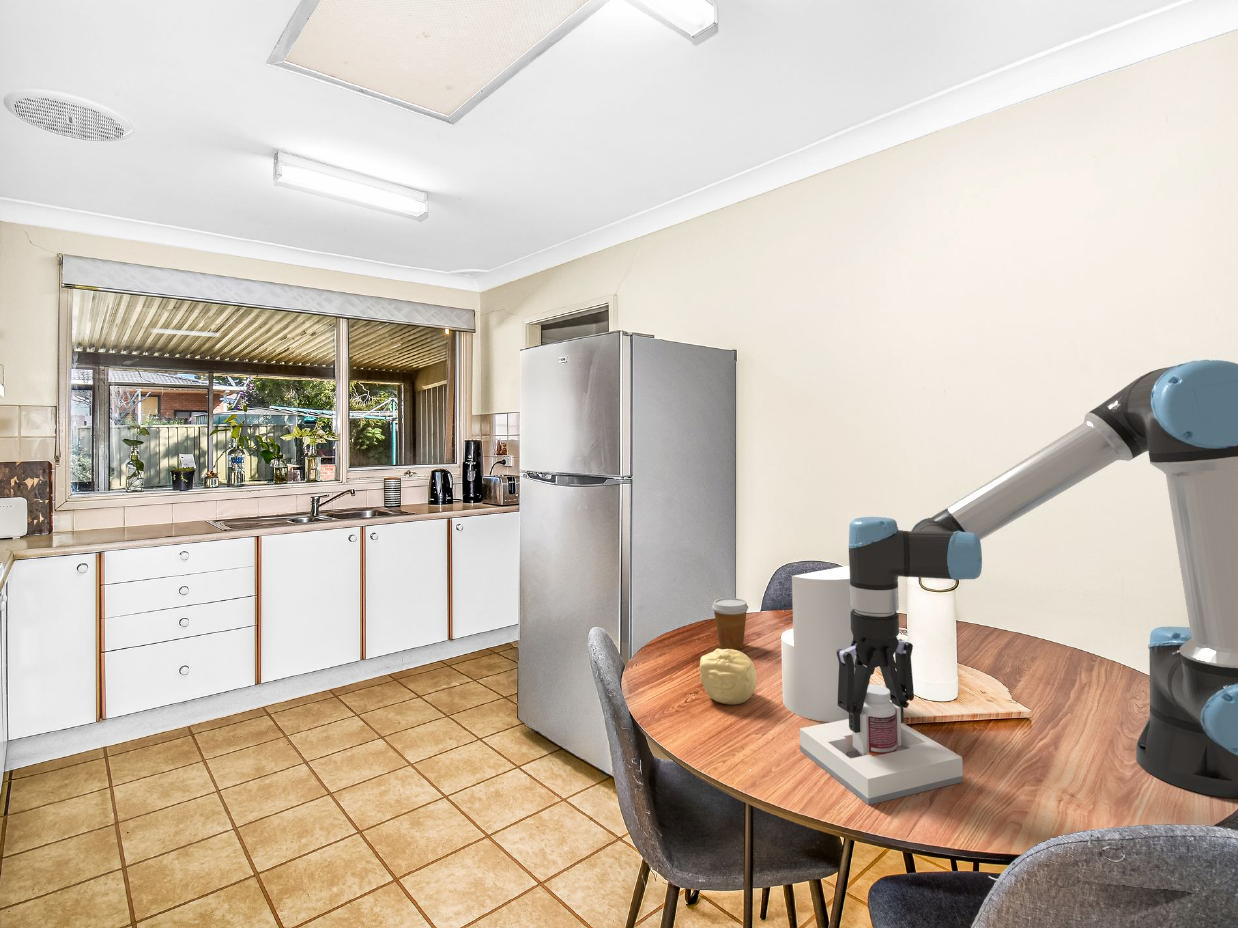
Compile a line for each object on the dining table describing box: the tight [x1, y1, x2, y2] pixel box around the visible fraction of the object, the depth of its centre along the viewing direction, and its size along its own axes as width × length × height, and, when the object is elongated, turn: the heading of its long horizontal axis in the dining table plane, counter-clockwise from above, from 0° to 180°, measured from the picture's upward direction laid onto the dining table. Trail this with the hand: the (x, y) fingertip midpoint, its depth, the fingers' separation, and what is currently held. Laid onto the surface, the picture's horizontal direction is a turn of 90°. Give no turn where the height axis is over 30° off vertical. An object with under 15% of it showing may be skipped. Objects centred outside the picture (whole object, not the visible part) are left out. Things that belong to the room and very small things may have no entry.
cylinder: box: [780, 565, 871, 723], centre depth 132 cm, size 17×17×28 cm
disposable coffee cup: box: [712, 597, 749, 651], centre depth 170 cm, size 10×10×12 cm
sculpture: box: [699, 648, 758, 705], centre depth 137 cm, size 12×12×11 cm
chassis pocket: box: [799, 719, 964, 806], centre depth 107 cm, size 18×18×4 cm
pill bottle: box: [858, 684, 897, 756], centre depth 107 cm, size 6×6×11 cm
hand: (877, 745), depth 107 cm, fingers closed on pill bottle, 6 cm apart
